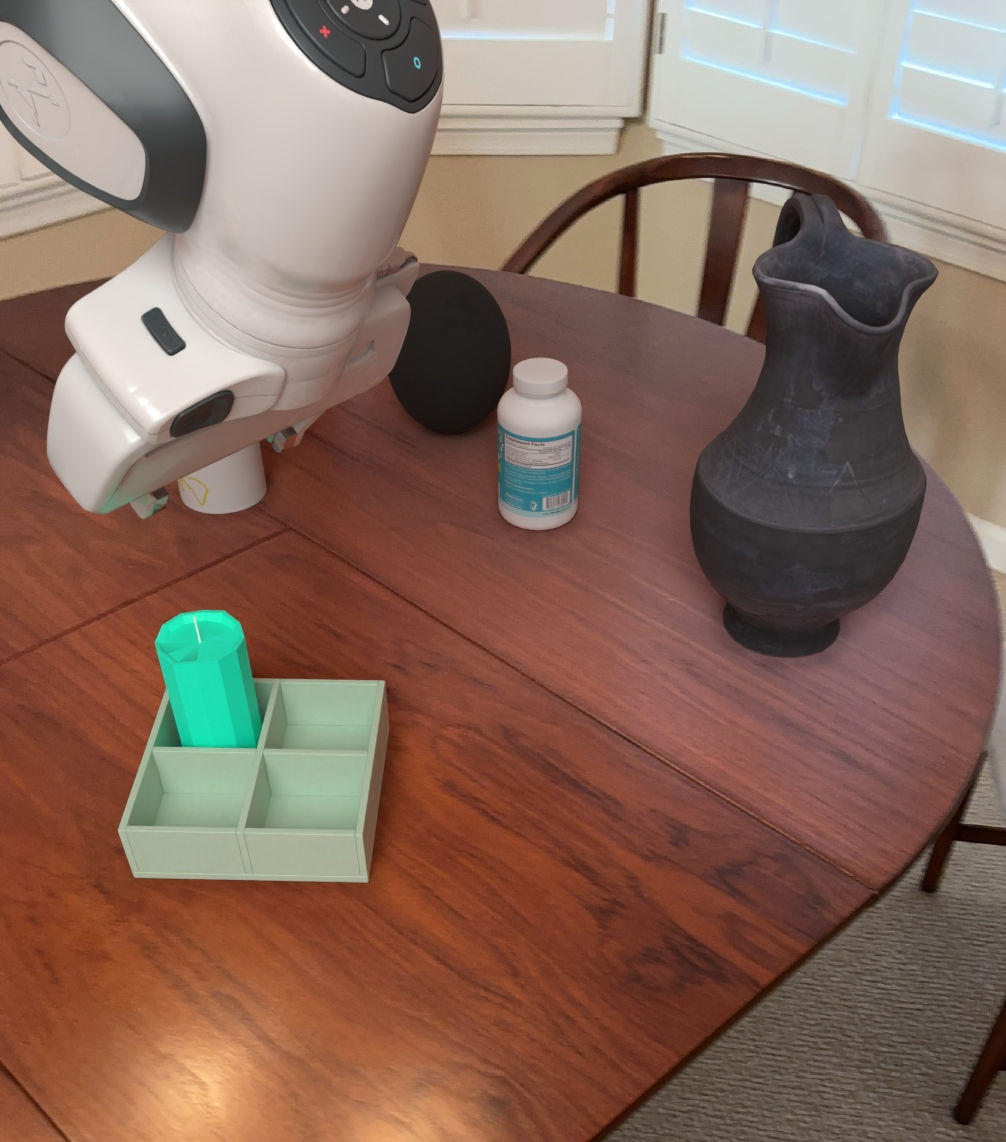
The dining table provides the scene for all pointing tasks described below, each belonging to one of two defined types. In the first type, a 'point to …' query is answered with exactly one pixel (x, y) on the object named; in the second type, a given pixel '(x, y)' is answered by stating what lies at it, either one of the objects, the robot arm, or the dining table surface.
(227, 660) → the candle
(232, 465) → the cup
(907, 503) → the pitcher
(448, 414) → the decorative egg
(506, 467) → the pill bottle
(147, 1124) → the dining table surface
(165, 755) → the compartment tray
